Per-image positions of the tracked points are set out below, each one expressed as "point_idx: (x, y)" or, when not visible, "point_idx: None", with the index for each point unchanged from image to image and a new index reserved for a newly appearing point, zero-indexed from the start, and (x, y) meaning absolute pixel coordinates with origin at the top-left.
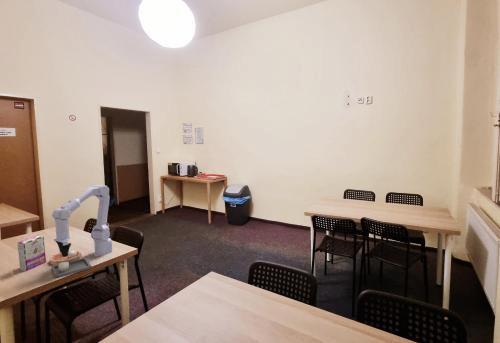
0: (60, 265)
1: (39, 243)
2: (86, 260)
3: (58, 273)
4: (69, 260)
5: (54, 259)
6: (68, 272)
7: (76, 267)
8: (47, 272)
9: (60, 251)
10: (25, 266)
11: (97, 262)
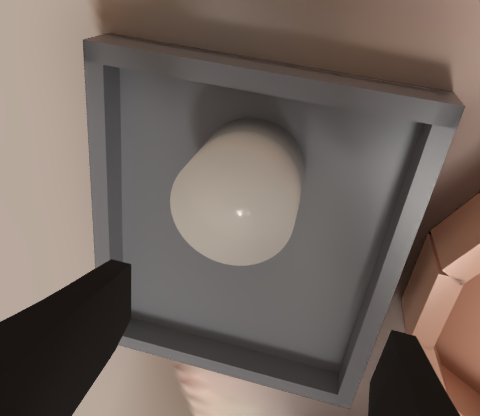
0: (191, 161)
1: None
2: (263, 380)
3: (217, 99)
4: (416, 308)
5: None
6: (93, 165)
7: (229, 269)
8: (417, 22)
9: (396, 353)
10: None
11: (221, 398)
